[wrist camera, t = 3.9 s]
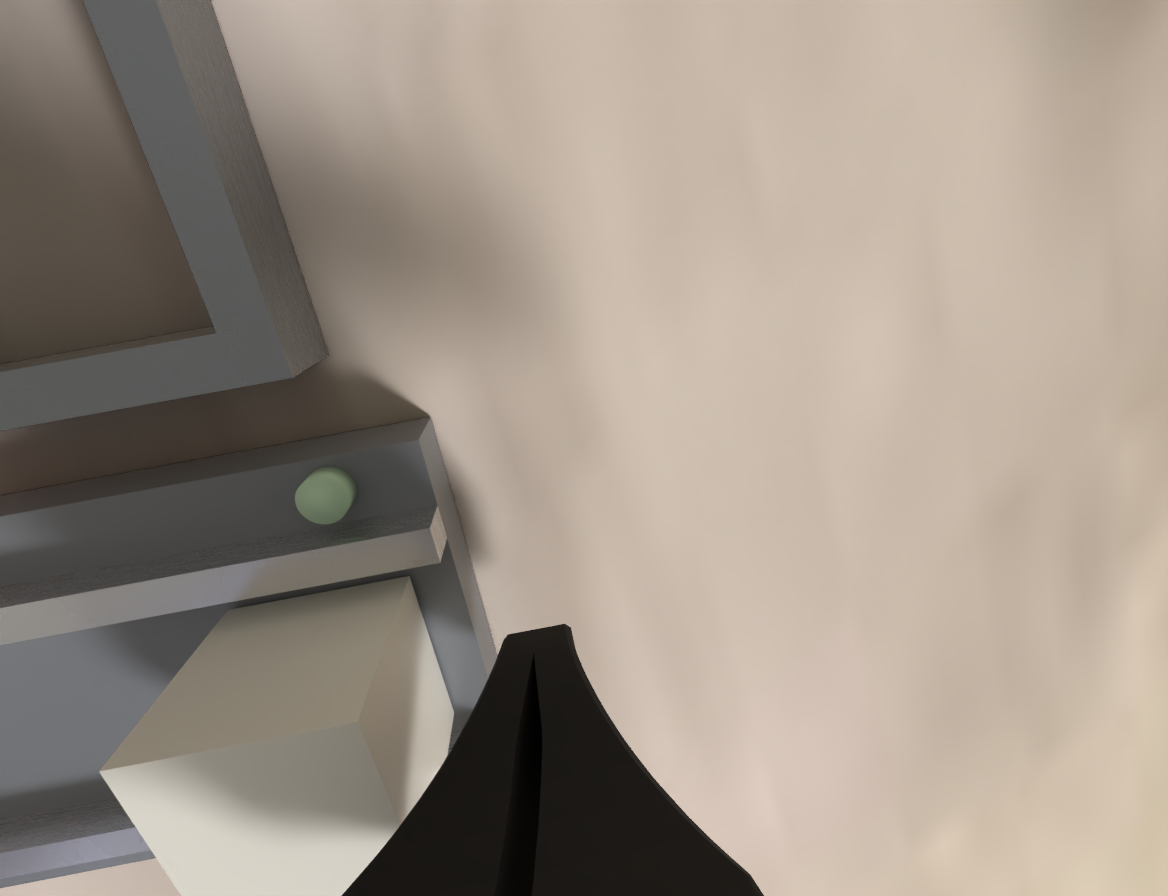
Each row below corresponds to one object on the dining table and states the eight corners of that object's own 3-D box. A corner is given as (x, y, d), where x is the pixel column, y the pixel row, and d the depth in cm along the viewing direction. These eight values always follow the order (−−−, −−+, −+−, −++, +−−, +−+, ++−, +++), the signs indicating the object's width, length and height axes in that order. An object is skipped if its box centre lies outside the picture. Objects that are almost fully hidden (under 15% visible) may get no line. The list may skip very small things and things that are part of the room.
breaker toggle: (454, 713, 14) (425, 887, 10) (291, 744, 14) (204, 931, 10) (409, 575, 13) (357, 721, 9) (227, 609, 13) (98, 771, 9)
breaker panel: (521, 740, 17) (518, 823, 14) (37, 833, 16) (-44, 933, 14) (430, 416, 13) (408, 458, 11) (-192, 530, 13) (-354, 598, 10)
